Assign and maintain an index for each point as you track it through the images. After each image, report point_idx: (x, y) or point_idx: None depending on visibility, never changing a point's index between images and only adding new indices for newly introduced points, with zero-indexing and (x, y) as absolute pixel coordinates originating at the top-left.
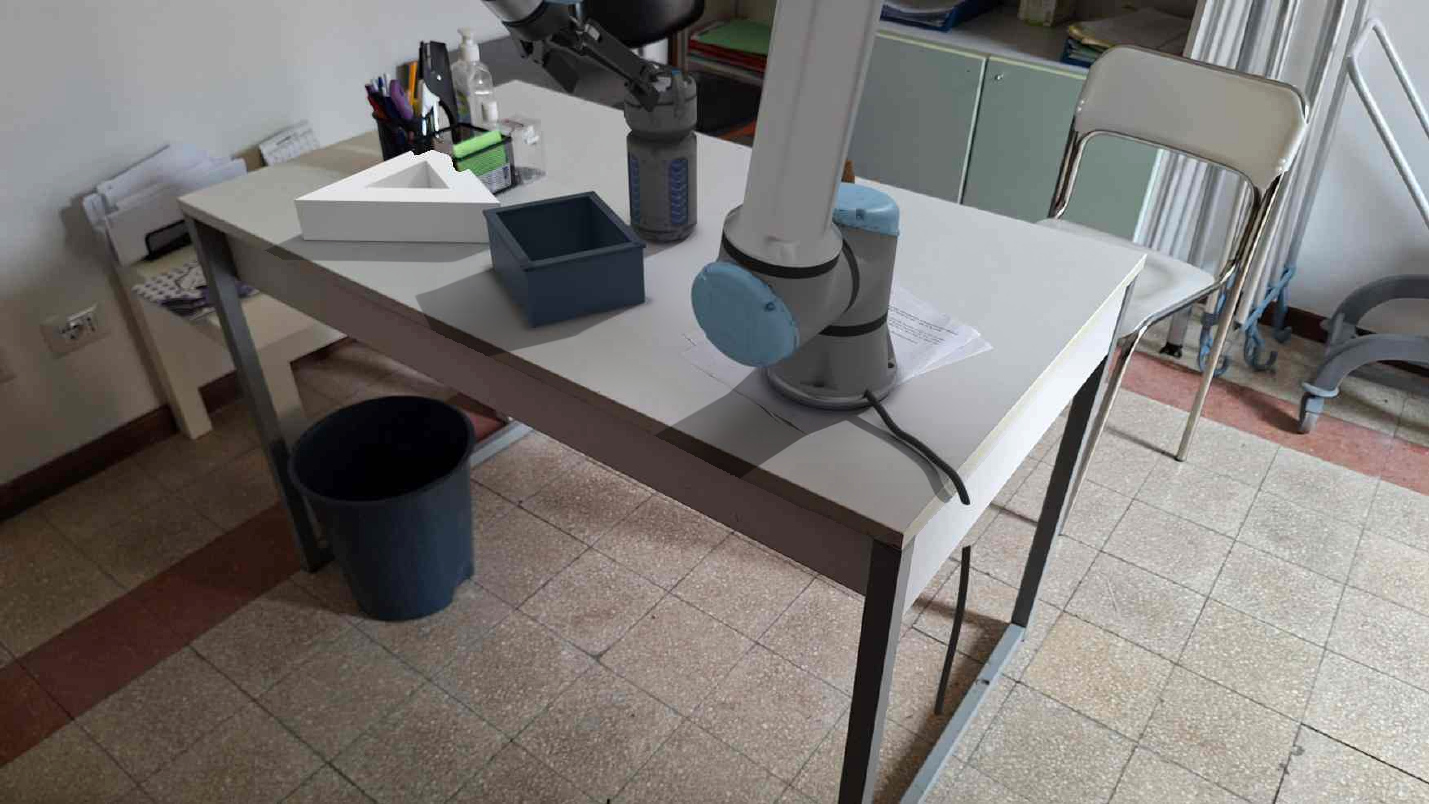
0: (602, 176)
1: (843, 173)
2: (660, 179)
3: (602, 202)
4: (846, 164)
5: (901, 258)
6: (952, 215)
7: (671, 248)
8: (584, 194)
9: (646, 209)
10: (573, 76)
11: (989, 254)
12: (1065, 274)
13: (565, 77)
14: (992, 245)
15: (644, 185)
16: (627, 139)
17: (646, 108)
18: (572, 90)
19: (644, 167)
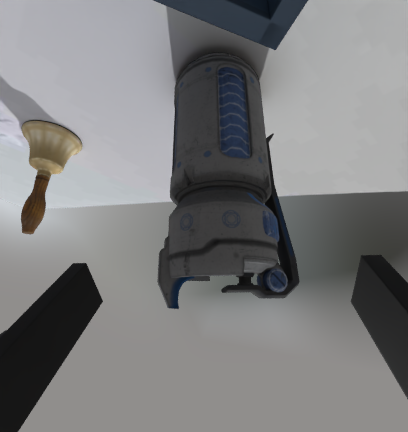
0: (363, 128)
1: (23, 219)
2: (184, 138)
3: (215, 18)
4: (22, 228)
5: None
6: (107, 200)
7: (169, 60)
8: (282, 18)
9: (204, 87)
10: (367, 310)
11: None
12: (7, 191)
13: (392, 322)
14: (58, 192)
15: (206, 118)
16: (253, 177)
17: (66, 276)
18: (361, 266)
19: (205, 144)
